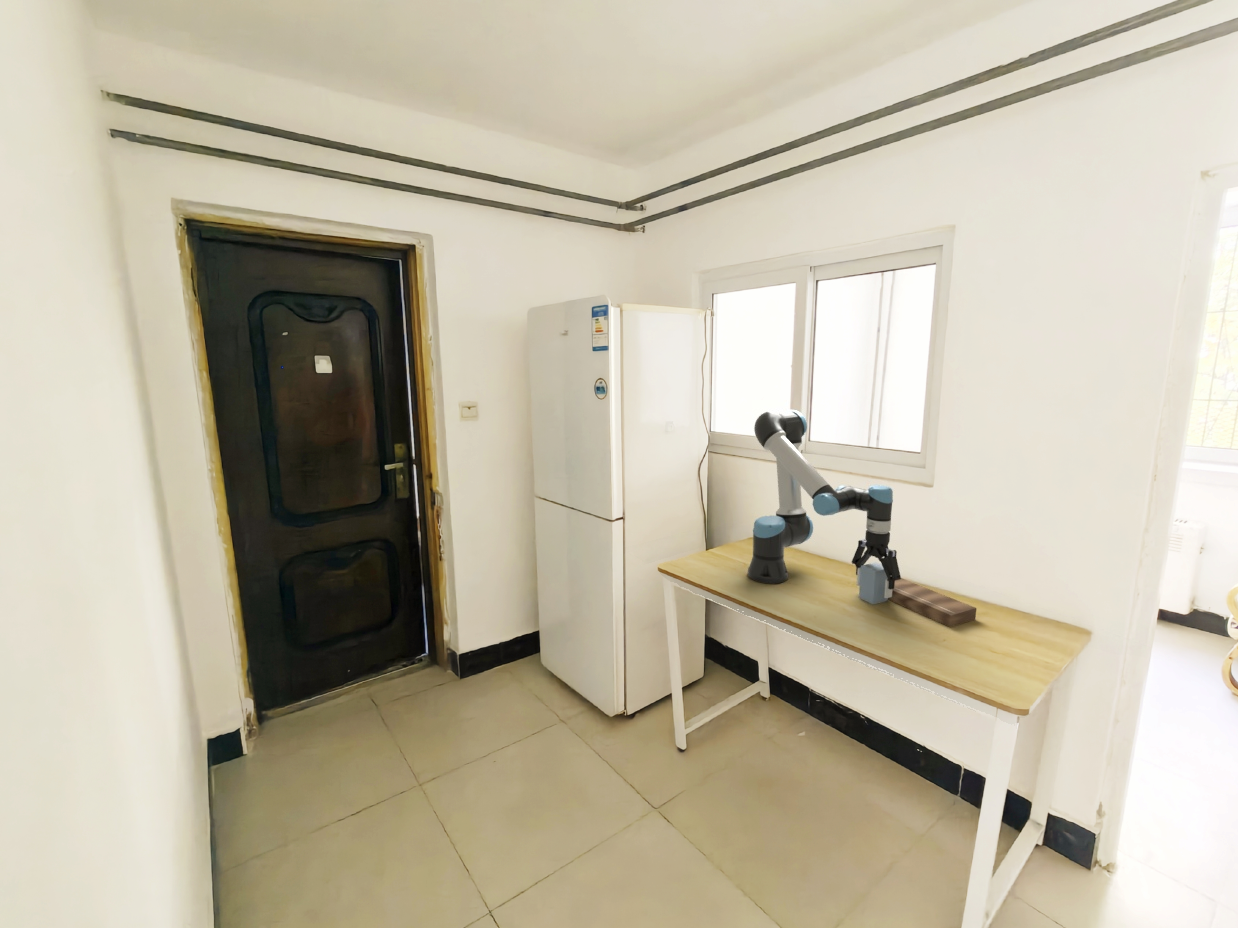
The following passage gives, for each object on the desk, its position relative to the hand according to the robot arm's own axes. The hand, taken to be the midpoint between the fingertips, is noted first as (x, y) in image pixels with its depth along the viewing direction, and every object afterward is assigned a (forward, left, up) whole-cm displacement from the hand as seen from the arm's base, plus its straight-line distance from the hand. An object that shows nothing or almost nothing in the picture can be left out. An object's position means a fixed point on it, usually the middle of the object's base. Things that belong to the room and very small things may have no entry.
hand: (873, 590), depth 186 cm
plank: (+10, +10, -3) cm, 15 cm away
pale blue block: (0, +2, -3) cm, 4 cm away
